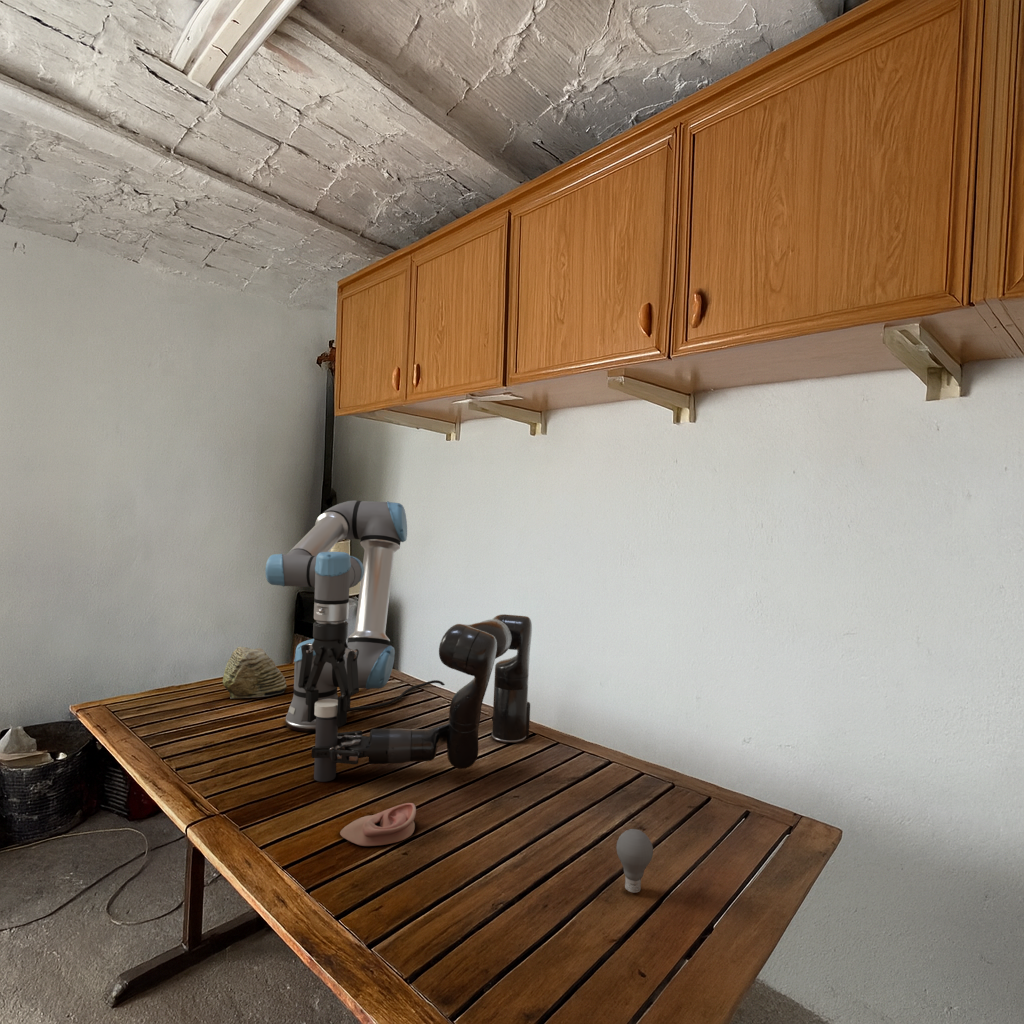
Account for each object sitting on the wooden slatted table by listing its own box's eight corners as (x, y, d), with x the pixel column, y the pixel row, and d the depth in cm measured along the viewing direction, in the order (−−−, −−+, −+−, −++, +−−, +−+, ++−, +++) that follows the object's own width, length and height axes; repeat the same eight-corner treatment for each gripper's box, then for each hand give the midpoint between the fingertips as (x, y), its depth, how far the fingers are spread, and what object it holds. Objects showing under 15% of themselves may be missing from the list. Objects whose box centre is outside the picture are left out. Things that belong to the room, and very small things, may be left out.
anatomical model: (332, 820, 116) (360, 792, 128) (332, 841, 116) (359, 811, 128) (400, 830, 114) (422, 801, 125) (400, 852, 114) (421, 821, 125)
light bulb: (610, 879, 108) (613, 822, 108) (644, 879, 109) (647, 822, 109) (619, 902, 102) (622, 840, 102) (655, 901, 103) (658, 840, 103)
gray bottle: (327, 770, 146) (330, 701, 146) (340, 777, 143) (342, 706, 143) (309, 777, 143) (312, 706, 142) (322, 783, 140) (324, 711, 139)
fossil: (218, 695, 195) (220, 647, 195) (278, 685, 208) (279, 640, 207) (228, 703, 189) (230, 653, 188) (289, 692, 201) (290, 645, 201)
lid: (311, 717, 140) (312, 706, 140) (317, 709, 145) (317, 698, 145) (337, 717, 140) (338, 707, 140) (342, 709, 146) (342, 698, 146)
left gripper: (283, 619, 142) (279, 720, 142) (360, 628, 136) (356, 734, 136) (303, 614, 149) (300, 710, 149) (378, 622, 143) (374, 723, 143)
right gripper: (391, 718, 152) (318, 720, 149) (390, 741, 138) (309, 743, 135) (390, 749, 152) (317, 751, 150) (389, 775, 138) (308, 778, 135)
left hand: (327, 722), depth 143 cm, fingers open, 7 cm apart
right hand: (314, 747), depth 142 cm, fingers closed on gray bottle, 4 cm apart
